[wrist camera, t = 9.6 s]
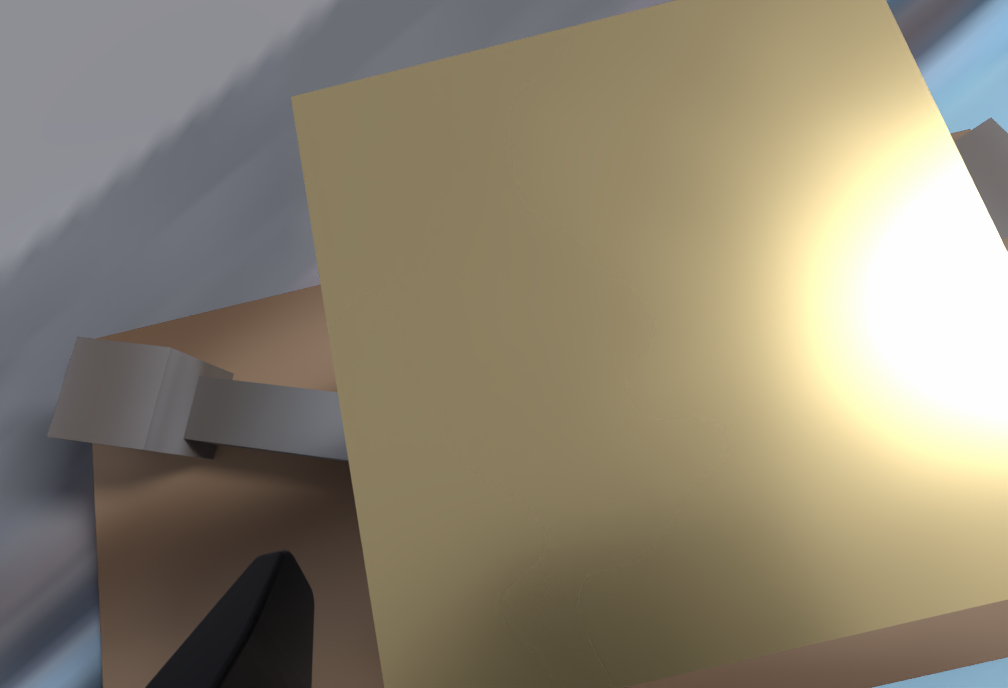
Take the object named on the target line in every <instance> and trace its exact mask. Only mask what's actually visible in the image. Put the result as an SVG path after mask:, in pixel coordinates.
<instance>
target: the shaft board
mask: <svg viewBox="0 0 1008 688" xmlns="http://www.w3.org/2000/svg"><path fill="white" fill-rule="evenodd" d="M950 135H951V137H952V139H953V141H954V143H955V145H956V147H957V149H958V151H959V153H960V156H961V158H962V160H963V162H964V164H965V166H966V168H967V170H968V172H969V174H970V176H971V178H972V180H973V183H974V185H975V187H976V189H977V191H978V193H979V195H980V197H981V199H982V201H983V203H984V205H985V207H986V210H987V212H988V214H989V216H990V218H991V220H992V222H993V224H994V226H995V228H996V230H997V232H998V234H999V237H1000V239H1001V241H1002V243H1003V245H1004V247H1005V249H1006V251H1007V253H1008V133H1007V132H1006V131H1005V130H1004V129H1002V128H1001V127H1000V126H999V125H998V124H997V123H996V122H995V121H994V120H993V119H992V118H990V119H988V120H986V121H985V122H983V123H982V124H980V125H979V126H977V127H976V128H974V129H973V130H970V129H968V130H964V131H960V132H955V133H951V134H950ZM47 437H51V438H58V439H66V440H73V441H80V442H87V443H92V451H93V474H94V497H95V519H96V542H97V564H98V587H99V609H100V632H101V654H102V677H103V688H145V687H146V686H147V684H148V683H149V682H150V681H151V680H152V678H153V677H154V676H155V675H156V674H157V673H158V671H159V670H160V669H161V668H162V667H163V666H164V664H165V663H166V662H167V661H168V660H169V659H170V657H171V656H172V655H173V654H174V653H175V652H176V650H177V649H178V648H179V647H180V646H181V644H182V643H183V642H184V641H185V640H186V639H187V637H188V636H189V635H190V634H191V633H192V632H193V630H194V629H195V628H196V627H197V626H198V625H199V623H200V622H201V621H202V620H203V619H204V618H205V616H206V615H207V614H208V613H209V612H210V610H211V609H212V608H213V607H214V606H215V605H216V603H217V602H218V601H219V600H220V599H221V598H222V596H223V595H224V594H225V593H226V592H227V591H228V589H229V588H230V587H231V586H232V585H233V583H234V582H235V581H236V580H237V579H238V578H239V576H240V575H241V574H242V573H243V572H244V571H245V569H246V568H247V567H248V566H249V565H250V564H251V562H252V561H253V560H254V559H255V558H256V557H258V556H260V555H262V554H266V553H271V552H275V551H279V550H288V551H290V552H291V553H292V554H293V556H294V557H295V559H296V561H297V562H298V564H299V566H300V568H301V570H302V572H303V573H304V575H305V577H306V579H307V581H308V583H309V584H310V586H311V589H312V592H313V595H314V603H315V609H314V636H313V664H312V688H384V682H383V676H382V670H381V663H380V657H379V651H378V644H377V638H376V632H375V625H374V619H373V613H372V606H371V600H370V594H369V587H368V581H367V575H366V568H365V562H364V556H363V549H362V543H361V537H360V530H359V524H358V518H357V511H356V505H355V499H354V492H353V486H352V480H351V473H350V467H349V461H348V454H347V448H346V442H345V435H344V429H343V423H342V416H341V410H340V404H339V397H338V391H337V385H336V378H335V372H334V366H333V359H332V353H331V347H330V340H329V334H328V328H327V321H326V315H325V309H324V302H323V296H322V290H321V285H317V286H313V287H309V288H305V289H301V290H297V291H292V292H288V293H284V294H280V295H276V296H272V297H267V298H263V299H259V300H255V301H251V302H246V303H242V304H238V305H234V306H230V307H226V308H221V309H217V310H213V311H209V312H205V313H201V314H196V315H192V316H188V317H184V318H180V319H176V320H171V321H167V322H163V323H159V324H155V325H151V326H146V327H142V328H138V329H134V330H130V331H126V332H121V333H117V334H113V335H109V336H105V337H101V338H96V339H92V338H84V337H77V339H76V343H75V346H74V349H73V353H72V356H71V359H70V362H69V366H68V369H67V372H66V375H65V379H64V382H63V385H62V389H61V392H60V395H59V398H58V402H57V405H56V408H55V411H54V415H53V418H52V421H51V425H50V428H49V431H48V434H47ZM1006 657H1008V600H1004V601H999V602H995V603H991V604H986V605H982V606H977V607H973V608H969V609H964V610H960V611H956V612H951V613H947V614H943V615H938V616H934V617H930V618H925V619H921V620H917V621H912V622H908V623H904V624H899V625H895V626H891V627H886V628H882V629H877V630H873V631H869V632H864V633H860V634H856V635H851V636H847V637H843V638H838V639H834V640H830V641H825V642H821V643H817V644H812V645H808V646H804V647H799V648H795V649H791V650H786V651H782V652H777V653H773V654H769V655H764V656H760V657H756V658H751V659H747V660H743V661H738V662H734V663H730V664H725V665H721V666H717V667H712V668H708V669H704V670H699V671H695V672H690V673H686V674H682V675H677V676H673V677H669V678H664V679H660V680H656V681H651V682H647V683H643V684H638V685H634V686H630V687H625V688H871V687H876V686H880V685H885V684H889V683H894V682H898V681H903V680H907V679H912V678H916V677H921V676H925V675H930V674H934V673H939V672H943V671H948V670H952V669H957V668H961V667H966V666H970V665H975V664H979V663H984V662H988V661H993V660H997V659H1002V658H1006Z"/></svg>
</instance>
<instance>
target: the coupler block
mask: <svg viewBox="0 0 1008 688" xmlns="http://www.w3.org/2000/svg"><path fill="white" fill-rule="evenodd" d="M291 100H292V106H293V113H294V119H295V125H296V132H297V138H298V144H299V151H300V157H301V163H302V170H303V176H304V182H305V189H306V195H307V201H308V208H309V214H310V220H311V227H312V233H313V239H314V245H315V252H316V258H317V264H318V271H319V277H320V283H321V290H322V296H323V302H324V309H325V315H326V321H327V328H328V334H329V340H330V347H331V353H332V359H333V366H334V372H335V378H336V385H337V391H338V397H339V404H340V410H341V416H342V423H343V429H344V435H345V442H346V448H347V454H348V461H349V467H350V473H351V480H352V486H353V492H354V499H355V505H356V511H357V518H358V524H359V530H360V537H361V543H362V549H363V556H364V562H365V568H366V575H367V581H368V587H369V594H370V600H371V606H372V613H373V619H374V625H375V632H376V638H377V644H378V651H379V657H380V663H381V670H382V676H383V682H384V688H625V687H630V686H634V685H638V684H643V683H647V682H651V681H656V680H660V679H664V678H669V677H673V676H677V675H682V674H686V673H690V672H695V671H699V670H704V669H708V668H712V667H717V666H721V665H725V664H730V663H734V662H738V661H743V660H747V659H751V658H756V657H760V656H764V655H769V654H773V653H777V652H782V651H786V650H791V649H795V648H799V647H804V646H808V645H812V644H817V643H821V642H825V641H830V640H834V639H838V638H843V637H847V636H851V635H856V634H860V633H864V632H869V631H873V630H877V629H882V628H886V627H891V626H895V625H899V624H904V623H908V622H912V621H917V620H921V619H925V618H930V617H934V616H938V615H943V614H947V613H951V612H956V611H960V610H964V609H969V608H973V607H977V606H982V605H986V604H991V603H995V602H999V601H1004V600H1008V253H1007V251H1006V249H1005V247H1004V245H1003V243H1002V241H1001V239H1000V237H999V234H998V232H997V230H996V228H995V226H994V224H993V222H992V220H991V218H990V216H989V214H988V212H987V210H986V207H985V205H984V203H983V201H982V199H981V197H980V195H979V193H978V191H977V189H976V187H975V185H974V183H973V180H972V178H971V176H970V174H969V172H968V170H967V168H966V166H965V164H964V162H963V160H962V158H961V156H960V153H959V151H958V149H957V147H956V145H955V143H954V141H953V139H952V137H951V135H950V133H949V131H948V128H947V126H946V124H945V122H944V120H943V118H942V116H941V114H940V112H939V110H938V108H937V106H936V104H935V101H934V99H933V97H932V95H931V93H930V91H929V89H928V87H927V85H926V83H925V81H924V79H923V77H922V74H921V72H920V70H919V68H918V66H917V64H916V62H915V60H914V58H913V56H912V54H911V52H910V50H909V47H908V45H907V43H906V41H905V39H904V37H903V35H902V33H901V31H900V29H899V27H898V25H897V23H896V20H895V18H894V16H893V14H892V12H891V10H890V8H889V6H888V4H887V2H886V0H676V1H672V2H668V3H664V4H660V5H656V6H652V7H648V8H644V9H640V10H636V11H632V12H628V13H624V14H620V15H616V16H612V17H608V18H604V19H600V20H596V21H592V22H588V23H584V24H580V25H576V26H572V27H568V28H564V29H560V30H556V31H552V32H548V33H544V34H540V35H536V36H532V37H528V38H524V39H520V40H516V41H512V42H508V43H504V44H500V45H496V46H492V47H488V48H484V49H480V50H476V51H472V52H468V53H464V54H460V55H456V56H452V57H448V58H444V59H440V60H436V61H432V62H428V63H424V64H420V65H416V66H412V67H408V68H404V69H400V70H396V71H392V72H389V73H385V74H381V75H377V76H373V77H369V78H365V79H361V80H357V81H353V82H349V83H345V84H341V85H337V86H333V87H329V88H325V89H321V90H317V91H313V92H309V93H305V94H301V95H297V96H293V97H291Z"/></svg>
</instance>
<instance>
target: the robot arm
mask: <svg viewBox="0 0 1008 688" xmlns="http://www.w3.org/2000/svg"><path fill="white" fill-rule="evenodd" d="M314 609H315V603H314V595H313V592H312V589H311V586H310V584H309V583H308V581H307V579H306V577H305V575H304V573H303V572H302V570H301V568H300V566H299V564H298V562H297V561H296V559H295V557H294V556H293V554H292V553H291V552H290V551H288V550H279V551H275V552H271V553H266V554H262V555H260V556H258V557H256V558H255V559H254V560H253V561H252V562H251V564H250V565H249V566H248V567H247V568H246V569H245V571H244V572H243V573H242V574H241V575H240V576H239V578H238V579H237V580H236V581H235V582H234V583H233V585H232V586H231V587H230V588H229V589H228V591H227V592H226V593H225V594H224V595H223V596H222V598H221V599H220V600H219V601H218V602H217V603H216V605H215V606H214V607H213V608H212V609H211V610H210V612H209V613H208V614H207V615H206V616H205V618H204V619H203V620H202V621H201V622H200V623H199V625H198V626H197V627H196V628H195V629H194V630H193V632H192V633H191V634H190V635H189V636H188V637H187V639H186V640H185V641H184V642H183V643H182V644H181V646H180V647H179V648H178V649H177V650H176V652H175V653H174V654H173V655H172V656H171V657H170V659H169V660H168V661H167V662H166V663H165V664H164V666H163V667H162V668H161V669H160V670H159V671H158V673H157V674H156V675H155V676H154V677H153V678H152V680H151V681H150V682H149V683H148V684H147V686H146V687H145V688H312V664H313V636H314Z"/></svg>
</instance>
